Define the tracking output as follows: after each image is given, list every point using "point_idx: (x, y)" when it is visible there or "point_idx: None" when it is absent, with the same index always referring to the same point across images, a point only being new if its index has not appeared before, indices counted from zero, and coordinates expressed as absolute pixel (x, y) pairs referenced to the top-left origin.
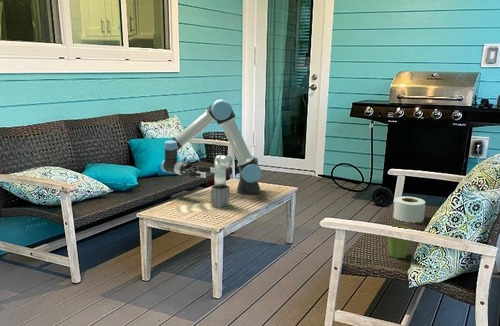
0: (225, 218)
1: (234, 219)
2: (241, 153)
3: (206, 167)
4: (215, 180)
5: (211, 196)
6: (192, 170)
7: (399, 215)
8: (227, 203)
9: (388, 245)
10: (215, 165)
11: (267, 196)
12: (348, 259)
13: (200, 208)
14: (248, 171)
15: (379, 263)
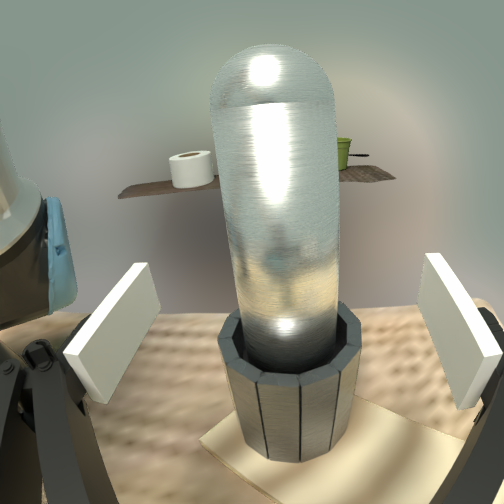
0: (404, 333)
1: (388, 311)
2: (5, 148)
3: (44, 416)
4: (336, 292)
5: (337, 415)
6: (480, 494)
7: (207, 173)
8: None
9: (342, 160)
10: (335, 146)
11: (58, 334)
12: (388, 179)
13: (415, 462)
14: (65, 239)
15: (372, 171)
